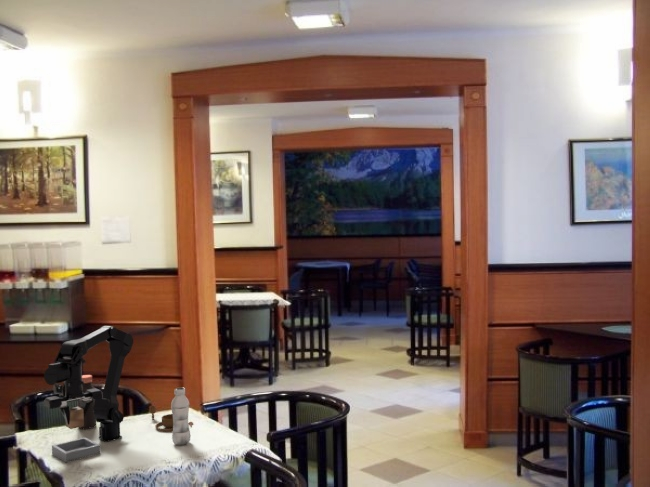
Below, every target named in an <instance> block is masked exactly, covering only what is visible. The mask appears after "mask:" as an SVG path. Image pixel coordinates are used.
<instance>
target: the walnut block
mask: <svg viewBox="0 0 650 487" xmlns="http://www.w3.org/2000/svg"><path fill="white" fill-rule="evenodd" d="M83 426H84V413H83V409H82V408H80V407H77V406H76V407H75V406H74V407H69V425H68V424H67V423H66V422H65V427H67V428H68V429H70V430H73V429H77V428H78V427H83Z"/></svg>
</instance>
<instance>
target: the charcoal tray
mask: <svg viewBox="0 0 650 487" xmlns="http://www.w3.org/2000/svg"><path fill="white" fill-rule="evenodd" d="M51 454H52V455H53V456H55V457H56V458H58V459H60V460H62V462H65V463H66V464H67V463H70V462H74V461H77V460H81V459H86V458H89V457H92V456H96V455H100V454H101V445H100V444H99V443H97V442H95V441H94V440H91V439H90V438H87V437H86V436H85V437H81V438H77V439H72V440H69V441H64V442H60V443H56V444H52V445H51Z"/></svg>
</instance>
